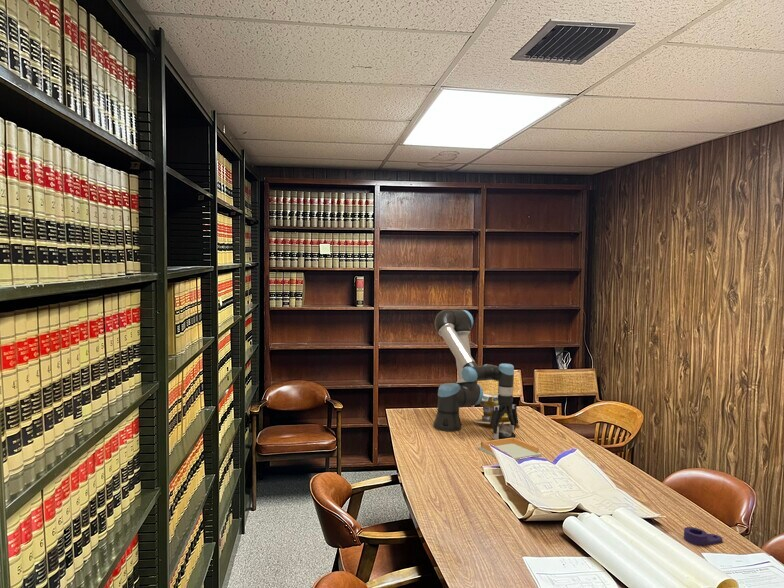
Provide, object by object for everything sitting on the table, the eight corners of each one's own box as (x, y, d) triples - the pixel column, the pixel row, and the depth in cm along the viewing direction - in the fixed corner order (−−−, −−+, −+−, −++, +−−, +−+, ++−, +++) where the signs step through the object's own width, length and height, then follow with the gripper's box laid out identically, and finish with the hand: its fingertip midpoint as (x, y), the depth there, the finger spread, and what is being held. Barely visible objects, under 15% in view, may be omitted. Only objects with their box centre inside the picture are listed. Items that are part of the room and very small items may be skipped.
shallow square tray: (477, 448, 248) (478, 441, 248) (511, 443, 258) (512, 436, 258) (506, 462, 230) (506, 453, 230) (541, 456, 241) (541, 448, 240)
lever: (693, 547, 160) (694, 537, 160) (679, 537, 166) (679, 527, 166) (728, 545, 162) (728, 535, 162) (712, 535, 168) (713, 526, 168)
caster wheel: (510, 448, 259) (491, 441, 264) (519, 439, 268) (501, 432, 273) (511, 436, 257) (493, 429, 263) (520, 427, 266) (502, 421, 271)
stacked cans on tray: (467, 419, 304) (468, 390, 303) (506, 418, 310) (507, 389, 309) (485, 431, 280) (486, 400, 279) (527, 429, 286) (528, 399, 285)
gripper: (493, 397, 257) (491, 443, 257) (526, 394, 267) (525, 438, 268) (483, 394, 263) (481, 439, 264) (516, 391, 274) (515, 434, 274)
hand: (503, 438), depth 266 cm, fingers open, 9 cm apart
